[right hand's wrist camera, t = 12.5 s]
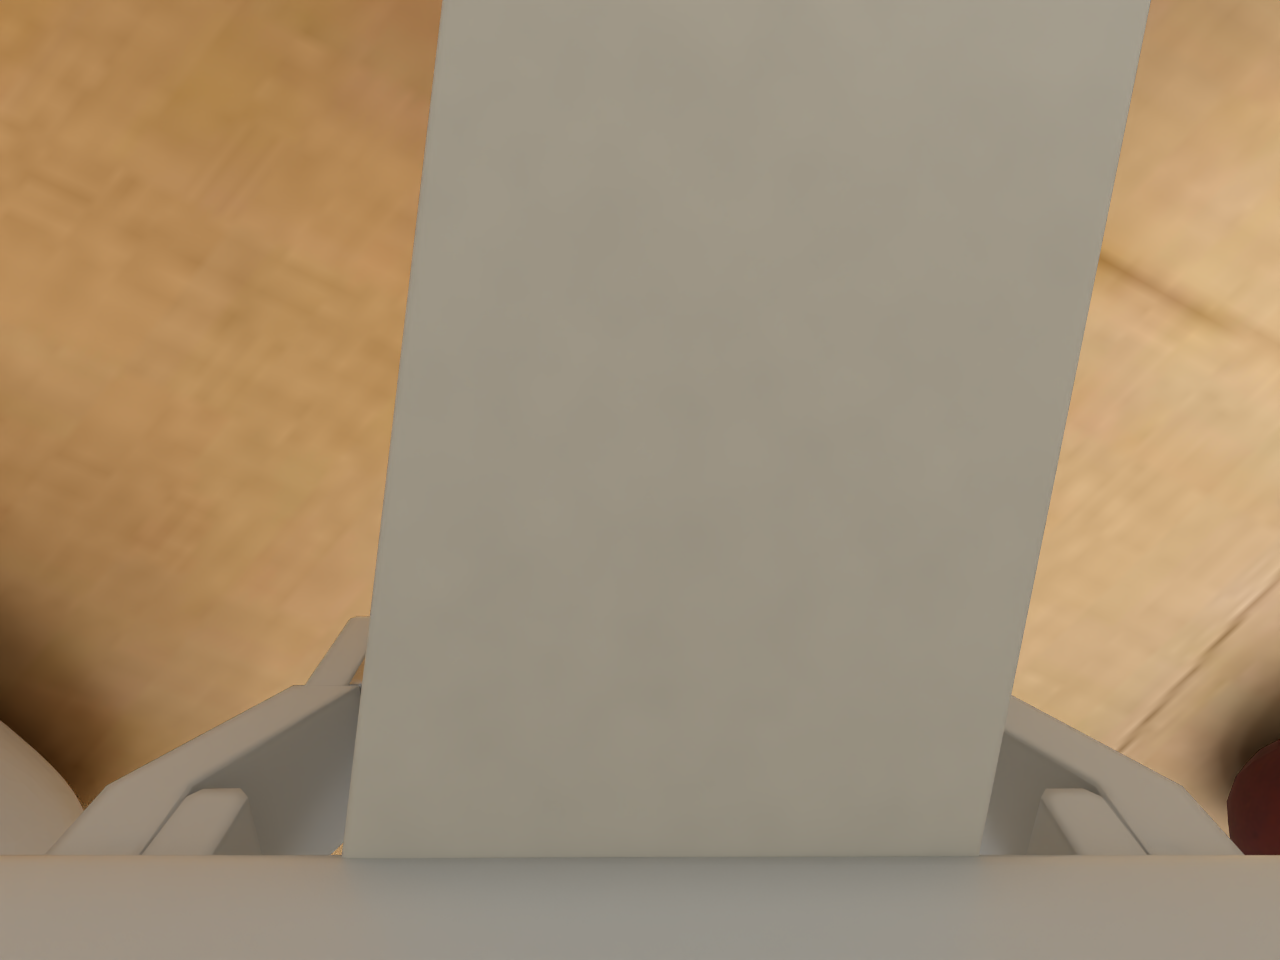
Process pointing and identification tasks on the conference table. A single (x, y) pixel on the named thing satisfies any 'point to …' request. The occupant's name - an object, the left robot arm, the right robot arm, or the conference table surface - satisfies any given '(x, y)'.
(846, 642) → the bar
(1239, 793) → the potato
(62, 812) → the white rounded device
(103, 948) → the right robot arm
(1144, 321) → the conference table surface
